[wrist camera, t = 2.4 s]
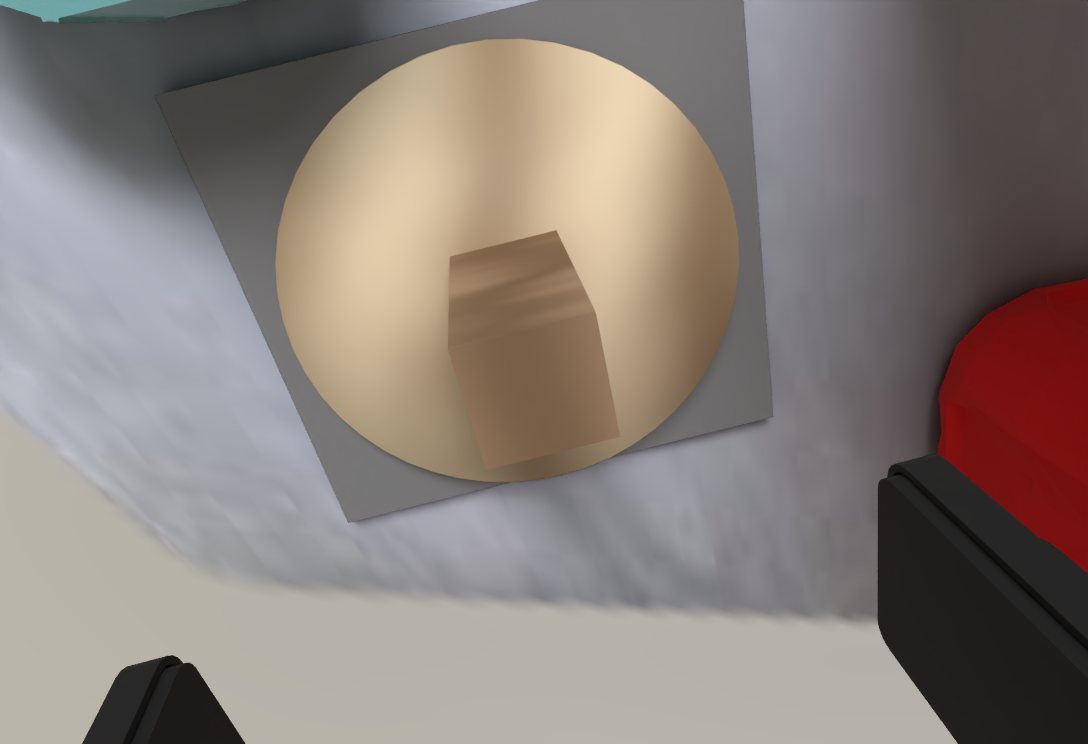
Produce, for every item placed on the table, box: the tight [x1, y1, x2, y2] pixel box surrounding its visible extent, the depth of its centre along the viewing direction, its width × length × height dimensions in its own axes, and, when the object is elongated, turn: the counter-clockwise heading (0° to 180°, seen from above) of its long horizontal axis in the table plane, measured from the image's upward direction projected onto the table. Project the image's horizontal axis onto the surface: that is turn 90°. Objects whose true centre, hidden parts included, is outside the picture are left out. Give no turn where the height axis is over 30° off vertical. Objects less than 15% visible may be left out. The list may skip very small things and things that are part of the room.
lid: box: [275, 38, 739, 482], centre depth 17 cm, size 13×13×7 cm
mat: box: [155, 0, 773, 523], centre depth 21 cm, size 15×14×1 cm
